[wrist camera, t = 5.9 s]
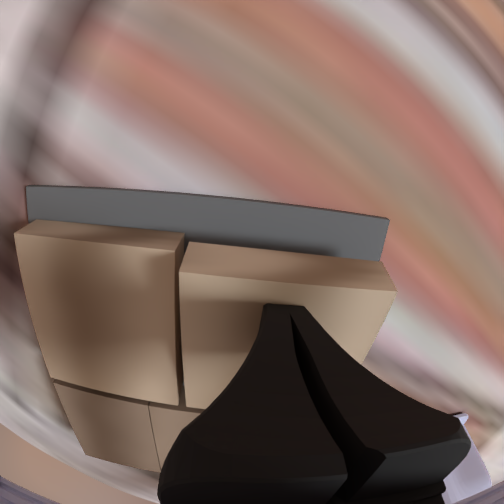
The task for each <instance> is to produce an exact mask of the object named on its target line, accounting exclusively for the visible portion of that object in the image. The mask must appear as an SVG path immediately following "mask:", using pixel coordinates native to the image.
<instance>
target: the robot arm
mask: <svg viewBox="0 0 504 504" xmlns="http://www.w3.org/2000/svg"><path fill="white" fill-rule="evenodd" d="M467 419H468V415H467V414H466V413H463V414H459V415H454V416H452V415H449V414H447V413H444V412H441V411H439V410H436V409H434V408H431V407H429V406H426V405H424V404H422V403H420V402H418V401H416V400H414V399H412V398H410V397H408V396H407V395H405V394H403V393H401V392H399V391H398V390H396V389H395V388H393V387H391V386H390V385H388V384H387V383H385V382H383V381H382V380H381V379H379V378H378V377H376V376H375V375H373V374H372V373H371V372H370V371H368V370H367V369H366V368H364V367H363V366H362V365H361V364H359V363H358V362H357V361H356V360H355V359H354V358H352V357H351V356H350V355H349V354H348V353H347V352H346V351H345V350H344V349H343V348H342V347H341V346H340V345H339V344H338V343H337V342H336V341H335V340H334V339H333V338H332V337H331V336H330V335H329V334H328V333H327V332H326V331H325V329H324V328H323V327H322V326H321V325H320V324H319V323H318V321H317V320H316V319H315V318H314V317H313V316H312V314H311V313H310V312H309V311H308V310H307V309H306V308H305V306H296V305H283V304H271V303H267V304H265V305H263V310H262V316H261V321H260V326H259V332H258V334H257V337H256V339H255V341H254V343H253V346H252V348H251V350H250V352H249V354H248V355H247V357H246V359H245V361H244V362H243V364H242V366H241V367H240V369H239V370H238V372H237V373H236V374H235V376H234V377H233V379H232V380H231V381H230V383H229V384H228V385H227V386H226V388H225V389H224V390H223V391H222V392H221V394H220V395H219V396H218V397H217V398H216V399H215V400H214V401H213V402H212V403H211V404H210V405H209V406H208V407H207V408H206V409H205V410H204V411H203V412H202V413H201V414H200V415H199V416H197V417H196V418H195V419H194V420H193V421H192V422H190V423H189V424H188V425H187V426H186V427H184V428H183V429H182V430H181V432H180V433H179V435H178V437H177V438H176V440H175V442H174V443H173V445H172V447H171V449H170V451H169V453H168V455H167V457H166V459H165V461H164V464H163V466H162V469H161V472H160V478H159V484H158V494H157V495H158V498H159V501H160V504H504V481H502V482H500V483H498V484H496V485H494V486H492V483H491V478H490V475H489V472H488V470H487V468H486V466H485V464H484V462H483V460H482V458H481V456H480V454H479V452H478V450H477V448H476V446H475V444H474V443H473V441H472V439H471V437H470V435H469V433H468V431H467V429H466V428H465V426H464V423H465V422H466V420H467ZM0 504H59V503H57V502H55V501H52V500H49V499H47V498H45V497H43V496H40V495H38V494H36V493H33V492H31V491H29V490H27V489H25V488H23V487H20V486H18V485H16V484H14V483H12V482H10V481H8V480H6V479H5V478H3V477H1V476H0Z"/></svg>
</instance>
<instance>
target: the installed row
mask: <svg viewBox="0 0 504 504" xmlns="http://www.w3.org/2000/svg"><path fill="white" fill-rule="evenodd" d="M53 383H54V386H55V389H56V391H57V394H58V396H59V399H60V401H61V403H62V406H63V408H64V410H65V413H66V415H67V417H68V420H69V422H70V424H71V426H72V428H73V430H74V432H75V435H76V437H77V439H78V441H79V443H80V445H81V447H82V449H83V451H84V452H85V454H86V455H88V456H92V457H95V458H99V459H102V460H106V461H110V462H113V463H117V464H121V465H126V466H130V467H134V468H139V469H144V470H149V471H154V472H159V473H160V472H161V469H162V466H163V464H164V461H165V459H166V457H167V455H168V453H169V451H170V449H171V447H172V445H173V443H174V442H175V440H176V438H177V437H178V435H179V433H180V432H181V430H182V429H183V428H184V427H186V426H187V425H188V424H189V423H190V422H192V421H193V420H194V419H195V418H196V417H197V416H199V415H200V414H201V413H202V412H203V411H204V410H205V409H200V408H192V407H186V397H185V386H184V385H182V390H181V394H180V399H179V404H178V406H177V405H170V404H164V403H158V402H152V401H146V400H141V399H136V398H131V397H126V396H121V395H116V394H112V393H108V392H103V391H99V390H95V389H91V388H87V387H83V386H79V385H76V384H72V383H68V382H65V381H62V380H58V379H55V380H54V382H53Z"/></svg>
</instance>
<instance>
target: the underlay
mask: <svg viewBox="0 0 504 504" xmlns="http://www.w3.org/2000/svg"><path fill="white" fill-rule="evenodd" d="M26 197H27V210H28V221H29V224H30V223H31V222H33V221H35V220H36V219H38V220H50V221H62V222H73V223H85V224H96V225H107V226H117V227H128V228H139V229H149V230H160V231H170V232H180V233H185V236H184V255H185V252H186V249H187V246H188V244H189V242H198V243H208V244H218V245H227V246H237V247H247V248H256V249H266V250H276V251H285V252H295V253H304V254H314V255H323V256H333V257H342V258H351V259H361V260H370V261H380V257H381V253H382V249H383V246H384V242H385V238H386V234H387V230H388V225H389V221H390V220H389V219H388V218H384V217H378V216H371V215H365V214H358V213H352V212H345V211H338V210H331V209H323V208H316V207H309V206H301V205H293V204H285V203H276V202H268V201H259V200H250V199H241V198H231V197H221V196H211V195H200V194H188V193H176V192H163V191H150V190H135V189H118V188H100V187H77V186H46V185H29V186H26ZM183 378H184V372H183ZM183 385H184V380H183ZM184 386H185V385H184Z"/></svg>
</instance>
